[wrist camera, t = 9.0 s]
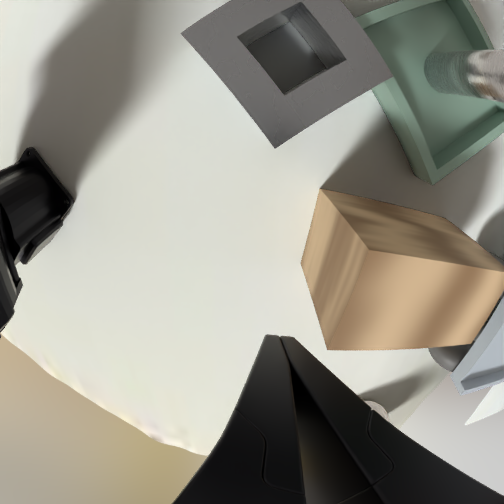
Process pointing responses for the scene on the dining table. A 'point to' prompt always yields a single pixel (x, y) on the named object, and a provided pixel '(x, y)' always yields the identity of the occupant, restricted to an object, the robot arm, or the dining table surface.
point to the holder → (320, 40)
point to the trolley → (477, 355)
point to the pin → (467, 73)
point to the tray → (419, 90)
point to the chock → (395, 276)
